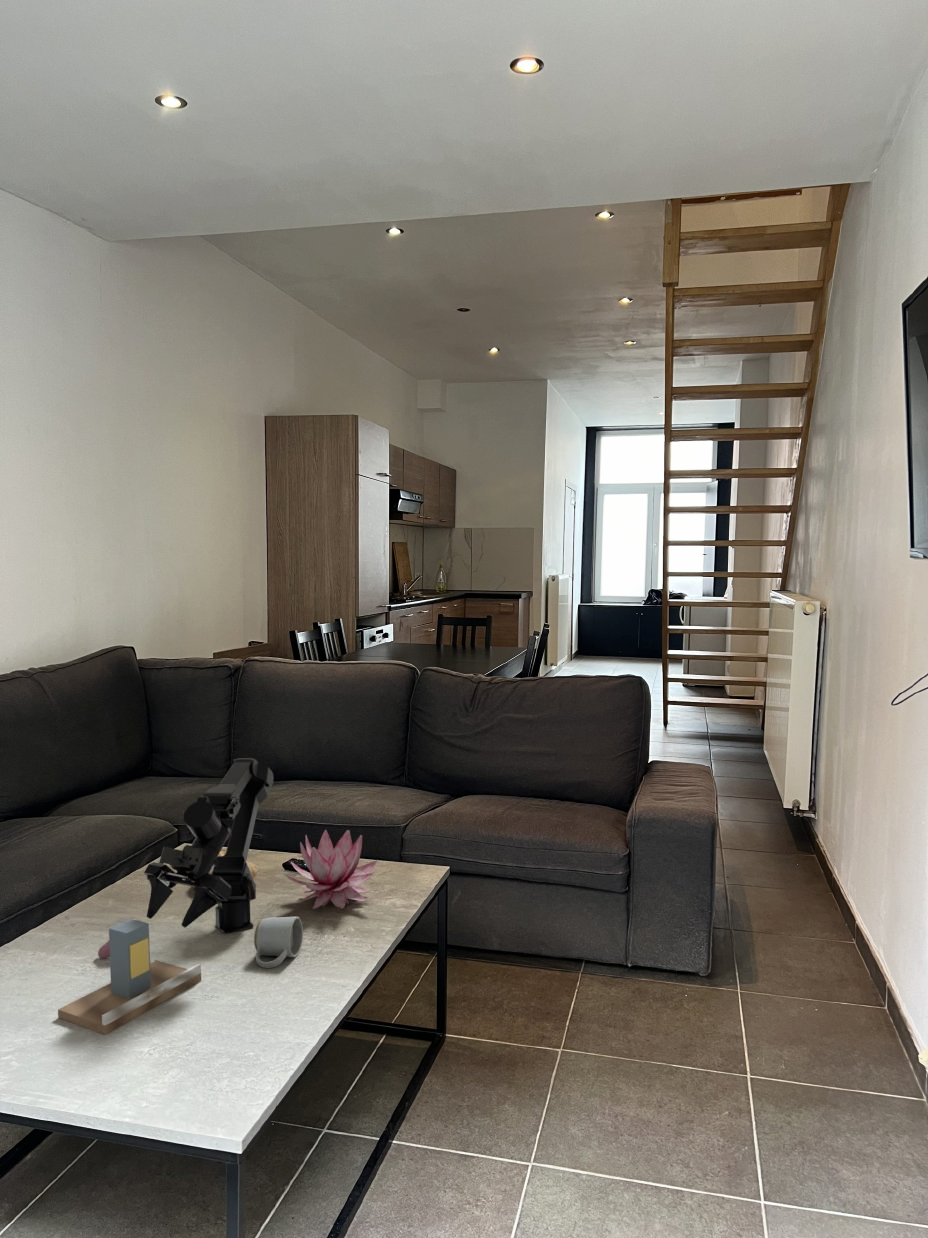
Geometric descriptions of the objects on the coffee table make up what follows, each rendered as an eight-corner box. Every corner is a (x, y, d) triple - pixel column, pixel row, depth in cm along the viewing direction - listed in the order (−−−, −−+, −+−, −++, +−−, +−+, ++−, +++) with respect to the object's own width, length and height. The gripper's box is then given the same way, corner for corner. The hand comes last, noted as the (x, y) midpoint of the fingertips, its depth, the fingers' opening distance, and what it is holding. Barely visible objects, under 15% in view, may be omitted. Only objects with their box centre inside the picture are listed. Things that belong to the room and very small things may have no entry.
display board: (156, 967, 176) (155, 952, 176) (202, 981, 170) (201, 965, 170) (58, 1018, 157) (57, 1000, 157) (106, 1034, 151) (105, 1016, 151)
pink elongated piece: (113, 968, 180) (126, 938, 179) (94, 957, 180) (107, 927, 179) (139, 947, 189) (152, 919, 189) (121, 937, 190) (133, 908, 189)
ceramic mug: (266, 945, 186) (264, 909, 185) (304, 947, 185) (302, 911, 184) (246, 969, 175) (245, 931, 175) (286, 971, 174) (285, 933, 174)
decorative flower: (267, 904, 209) (265, 840, 208) (337, 879, 225) (335, 820, 224) (328, 927, 195) (326, 859, 194) (397, 898, 211) (396, 835, 210)
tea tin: (111, 993, 162) (108, 928, 162) (133, 982, 167) (131, 919, 166) (130, 999, 160) (127, 933, 159) (152, 987, 164) (149, 923, 164)
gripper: (149, 823, 180) (106, 895, 171) (219, 835, 171) (177, 912, 162) (180, 849, 187) (140, 920, 178) (248, 863, 178) (210, 938, 170)
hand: (165, 922), depth 172 cm, fingers open, 9 cm apart
